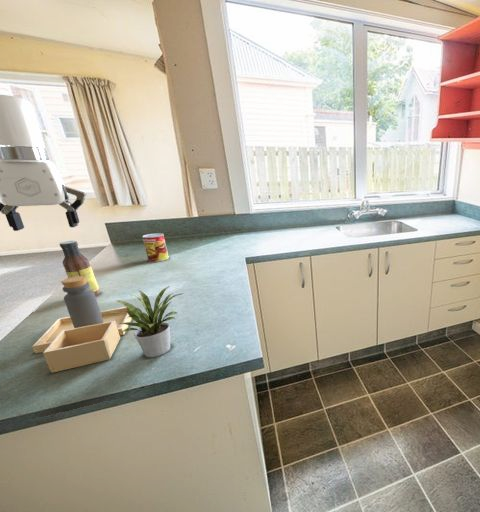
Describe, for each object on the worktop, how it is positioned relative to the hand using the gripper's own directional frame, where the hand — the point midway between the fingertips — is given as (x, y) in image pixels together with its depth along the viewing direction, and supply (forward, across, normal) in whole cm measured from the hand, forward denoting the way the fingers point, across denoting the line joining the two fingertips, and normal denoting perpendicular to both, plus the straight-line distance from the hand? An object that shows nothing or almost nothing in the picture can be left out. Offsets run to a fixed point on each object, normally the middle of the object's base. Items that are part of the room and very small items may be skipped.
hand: (47, 228), depth 73 cm
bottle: (+29, +2, 0) cm, 29 cm away
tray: (+30, +2, 0) cm, 30 cm away
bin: (+30, +5, -14) cm, 33 cm away
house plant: (+30, +21, -20) cm, 41 cm away
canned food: (+30, +10, +66) cm, 73 cm away
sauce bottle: (+30, -6, +30) cm, 43 cm away
